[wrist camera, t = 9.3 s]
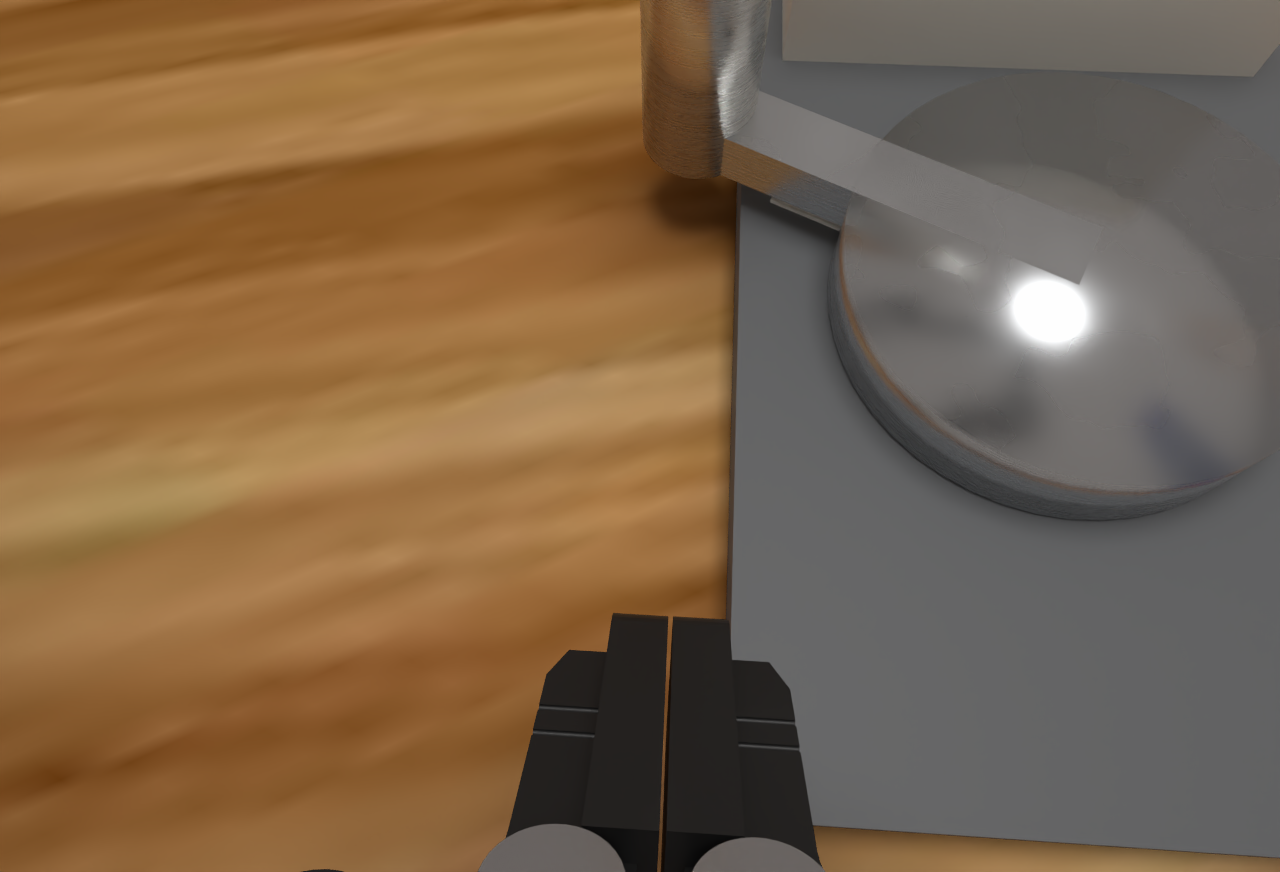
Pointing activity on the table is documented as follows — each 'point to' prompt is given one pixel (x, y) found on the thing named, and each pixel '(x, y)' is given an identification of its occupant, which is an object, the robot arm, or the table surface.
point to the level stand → (993, 503)
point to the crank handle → (1014, 265)
